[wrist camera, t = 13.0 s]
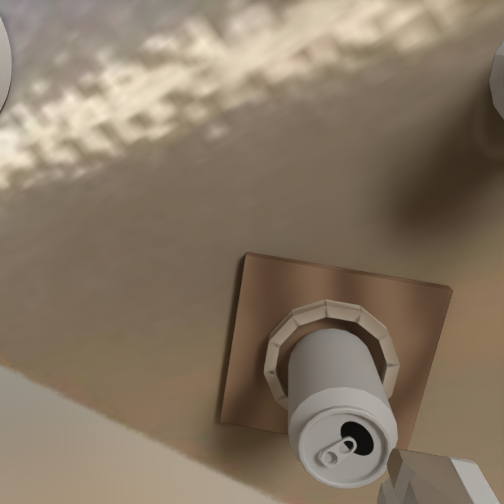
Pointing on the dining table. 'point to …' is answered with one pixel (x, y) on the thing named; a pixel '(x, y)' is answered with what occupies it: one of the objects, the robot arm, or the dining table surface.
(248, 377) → the seat board
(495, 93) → the french press
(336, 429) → the can
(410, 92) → the dining table surface
